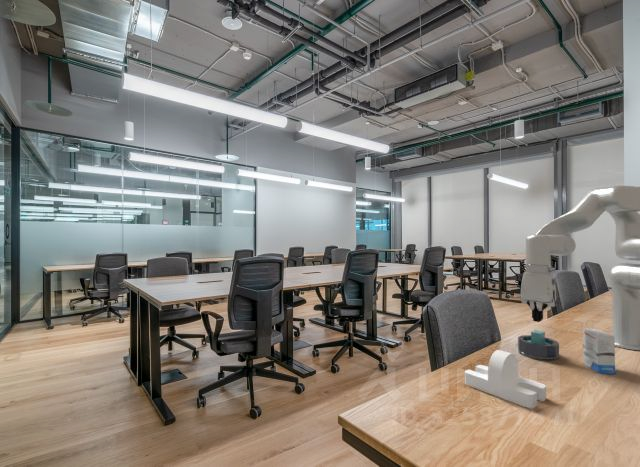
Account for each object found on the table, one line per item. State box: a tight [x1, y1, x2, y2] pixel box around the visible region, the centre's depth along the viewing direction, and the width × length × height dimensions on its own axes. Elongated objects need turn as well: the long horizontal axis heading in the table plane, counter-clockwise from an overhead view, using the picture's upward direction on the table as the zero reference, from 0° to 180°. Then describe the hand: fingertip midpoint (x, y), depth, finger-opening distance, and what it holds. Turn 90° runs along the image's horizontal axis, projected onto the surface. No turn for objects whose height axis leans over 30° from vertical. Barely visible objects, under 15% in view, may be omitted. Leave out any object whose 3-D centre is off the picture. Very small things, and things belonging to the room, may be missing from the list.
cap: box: [527, 329, 549, 344], centre depth 122 cm, size 8×8×7 cm
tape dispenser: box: [464, 349, 547, 409], centre depth 94 cm, size 10×18×11 cm, turn 36°
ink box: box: [582, 328, 616, 375], centre depth 109 cm, size 9×5×12 cm, turn 168°
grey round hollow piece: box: [517, 334, 560, 362], centre depth 122 cm, size 12×12×5 cm
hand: (537, 320), depth 122 cm, fingers closed
